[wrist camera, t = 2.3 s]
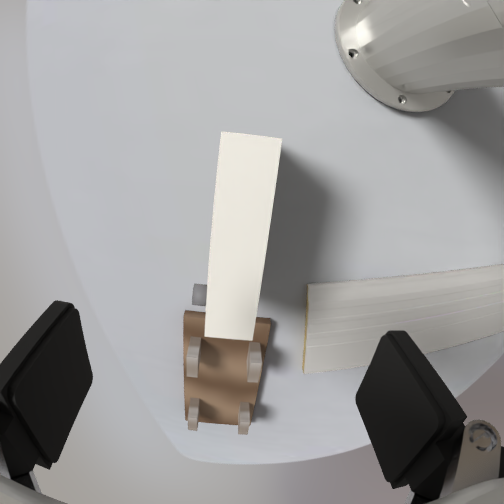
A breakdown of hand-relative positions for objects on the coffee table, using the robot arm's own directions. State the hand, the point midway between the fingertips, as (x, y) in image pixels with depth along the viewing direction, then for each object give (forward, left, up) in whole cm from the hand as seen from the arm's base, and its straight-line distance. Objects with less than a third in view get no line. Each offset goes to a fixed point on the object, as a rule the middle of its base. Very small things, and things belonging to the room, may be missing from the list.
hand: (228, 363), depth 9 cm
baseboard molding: (+8, +23, -18) cm, 30 cm away
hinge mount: (+18, 0, -17) cm, 25 cm away
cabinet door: (0, 0, -18) cm, 18 cm away
